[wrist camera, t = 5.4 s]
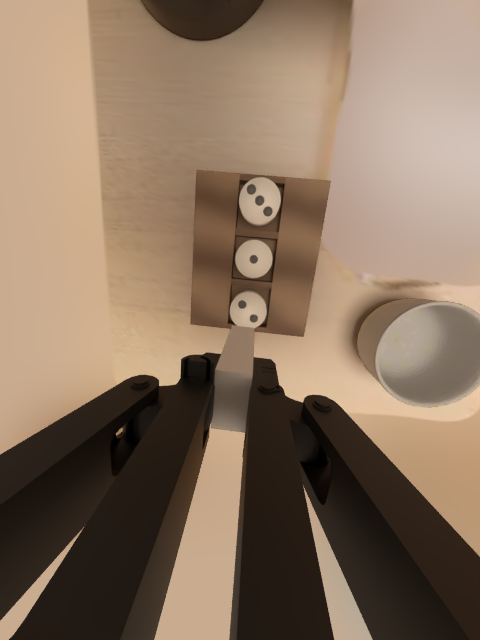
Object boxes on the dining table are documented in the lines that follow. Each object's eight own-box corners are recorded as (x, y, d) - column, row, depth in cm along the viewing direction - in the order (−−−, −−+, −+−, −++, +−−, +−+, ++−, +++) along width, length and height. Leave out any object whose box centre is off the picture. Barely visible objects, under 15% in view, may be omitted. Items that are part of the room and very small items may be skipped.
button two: (233, 288, 27) (231, 291, 25) (267, 291, 27) (268, 295, 25) (230, 320, 28) (228, 327, 26) (263, 324, 28) (264, 331, 26)
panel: (202, 178, 27) (196, 170, 25) (324, 188, 26) (330, 180, 24) (195, 319, 31) (190, 324, 29) (300, 330, 31) (303, 336, 28)
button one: (238, 240, 27) (236, 238, 25) (273, 243, 27) (274, 241, 24) (235, 274, 28) (233, 276, 26) (268, 278, 28) (269, 280, 25)
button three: (242, 184, 25) (241, 175, 22) (280, 187, 24) (283, 179, 22) (239, 224, 26) (237, 220, 23) (275, 228, 25) (277, 224, 23)
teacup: (339, 366, 32) (366, 401, 24) (357, 286, 29) (393, 296, 21) (445, 378, 31) (508, 418, 23) (474, 298, 28) (555, 313, 20)
